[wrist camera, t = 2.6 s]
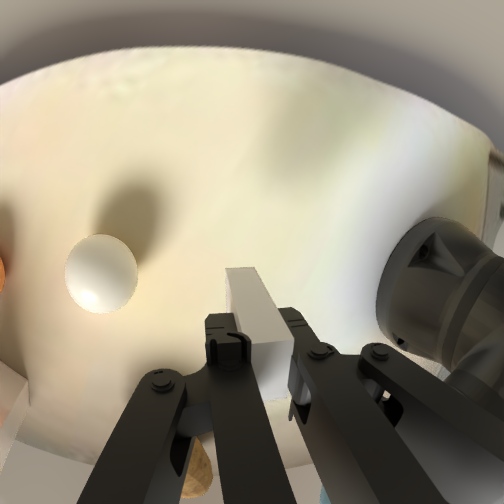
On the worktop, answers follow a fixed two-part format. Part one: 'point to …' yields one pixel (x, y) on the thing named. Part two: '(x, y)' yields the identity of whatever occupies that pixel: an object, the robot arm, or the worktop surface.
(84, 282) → the cue ball
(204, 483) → the potato
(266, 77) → the worktop surface
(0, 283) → the object ball
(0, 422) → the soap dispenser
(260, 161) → the worktop surface
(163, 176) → the worktop surface
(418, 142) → the worktop surface
